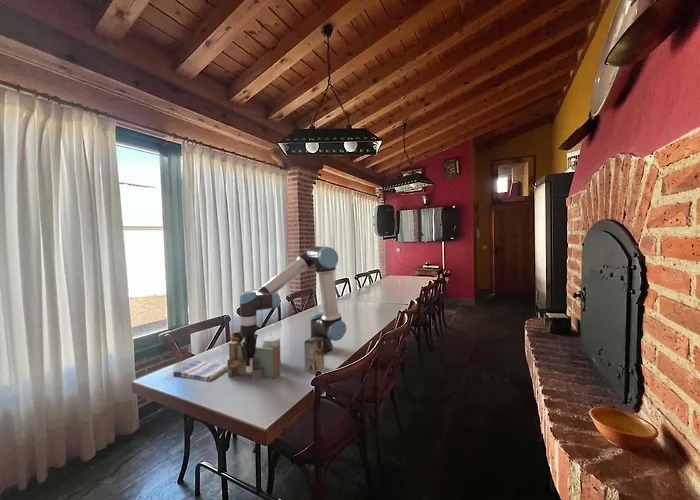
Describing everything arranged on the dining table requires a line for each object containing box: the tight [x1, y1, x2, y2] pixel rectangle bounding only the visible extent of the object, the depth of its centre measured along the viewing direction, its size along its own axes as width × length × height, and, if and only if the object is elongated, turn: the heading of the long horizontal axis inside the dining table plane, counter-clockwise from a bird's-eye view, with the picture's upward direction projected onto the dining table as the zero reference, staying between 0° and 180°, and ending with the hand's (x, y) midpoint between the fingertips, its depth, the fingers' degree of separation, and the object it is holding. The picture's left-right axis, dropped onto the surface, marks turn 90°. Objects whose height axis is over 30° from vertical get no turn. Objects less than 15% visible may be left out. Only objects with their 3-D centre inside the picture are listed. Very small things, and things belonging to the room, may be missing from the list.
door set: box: [227, 340, 281, 380], centre depth 153 cm, size 26×6×16 cm, turn 79°
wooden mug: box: [230, 331, 243, 346], centre depth 184 cm, size 9×14×18 cm, turn 57°
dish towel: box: [173, 360, 228, 382], centre depth 159 cm, size 17×24×3 cm
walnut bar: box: [227, 358, 258, 369], centre depth 152 cm, size 16×3×4 cm, turn 81°
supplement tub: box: [261, 335, 281, 348], centre depth 166 cm, size 10×10×15 cm
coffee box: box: [303, 336, 325, 374], centre depth 160 cm, size 9×6×16 cm
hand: (249, 371), depth 148 cm, fingers closed
